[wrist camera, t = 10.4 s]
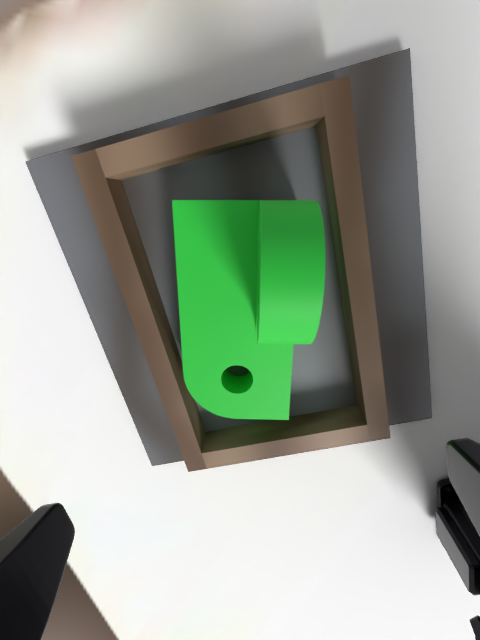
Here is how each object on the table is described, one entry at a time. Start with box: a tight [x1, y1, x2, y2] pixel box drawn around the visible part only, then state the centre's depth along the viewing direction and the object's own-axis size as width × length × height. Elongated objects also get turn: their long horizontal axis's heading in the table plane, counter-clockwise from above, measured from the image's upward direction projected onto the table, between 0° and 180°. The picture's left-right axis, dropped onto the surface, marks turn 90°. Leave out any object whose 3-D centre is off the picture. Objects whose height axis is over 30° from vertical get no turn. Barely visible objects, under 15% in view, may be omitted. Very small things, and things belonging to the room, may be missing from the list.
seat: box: [26, 48, 432, 472], centre depth 18 cm, size 19×20×3 cm
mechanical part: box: [172, 200, 325, 420], centre depth 15 cm, size 12×6×8 cm, turn 0°
